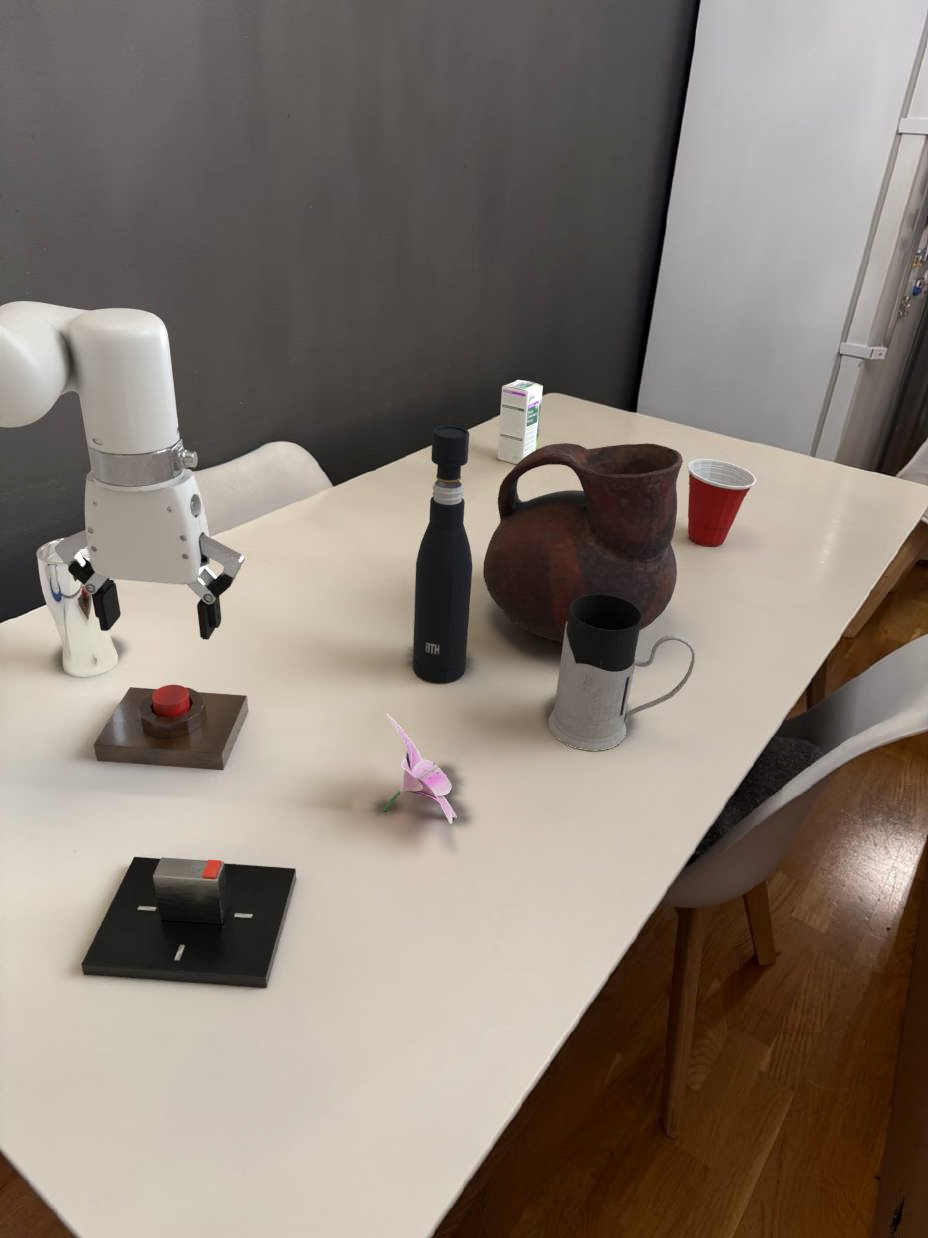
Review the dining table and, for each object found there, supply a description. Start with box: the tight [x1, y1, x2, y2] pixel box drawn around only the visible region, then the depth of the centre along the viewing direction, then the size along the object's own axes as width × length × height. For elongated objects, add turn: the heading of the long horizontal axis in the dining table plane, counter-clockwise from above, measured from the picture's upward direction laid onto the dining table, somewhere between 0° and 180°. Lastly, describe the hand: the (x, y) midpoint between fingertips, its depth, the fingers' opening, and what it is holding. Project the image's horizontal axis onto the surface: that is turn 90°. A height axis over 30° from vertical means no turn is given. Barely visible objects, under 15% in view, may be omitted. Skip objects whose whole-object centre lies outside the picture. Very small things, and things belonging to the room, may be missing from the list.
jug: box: [482, 442, 684, 644], centre depth 113 cm, size 25×25×25 cm
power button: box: [152, 684, 190, 717], centre depth 92 cm, size 4×4×2 cm
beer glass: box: [36, 537, 119, 678], centre depth 100 cm, size 7×7×15 cm
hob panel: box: [80, 856, 297, 989], centre depth 72 cm, size 14×11×3 cm
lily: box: [382, 712, 458, 824], centre depth 84 cm, size 12×12×10 cm
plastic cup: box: [687, 458, 758, 547], centre depth 141 cm, size 11×11×12 cm
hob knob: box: [153, 857, 229, 924], centre depth 70 cm, size 5×2×5 cm, turn 88°
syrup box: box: [497, 379, 544, 465], centre depth 167 cm, size 6×6×14 cm
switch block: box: [93, 686, 249, 771], centre depth 93 cm, size 13×10×4 cm
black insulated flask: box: [412, 425, 473, 685], centre depth 100 cm, size 6×6×30 cm
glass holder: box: [548, 594, 696, 751], centre depth 95 cm, size 9×14×15 cm, turn 73°
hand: (160, 627), depth 85 cm, fingers open, 9 cm apart
